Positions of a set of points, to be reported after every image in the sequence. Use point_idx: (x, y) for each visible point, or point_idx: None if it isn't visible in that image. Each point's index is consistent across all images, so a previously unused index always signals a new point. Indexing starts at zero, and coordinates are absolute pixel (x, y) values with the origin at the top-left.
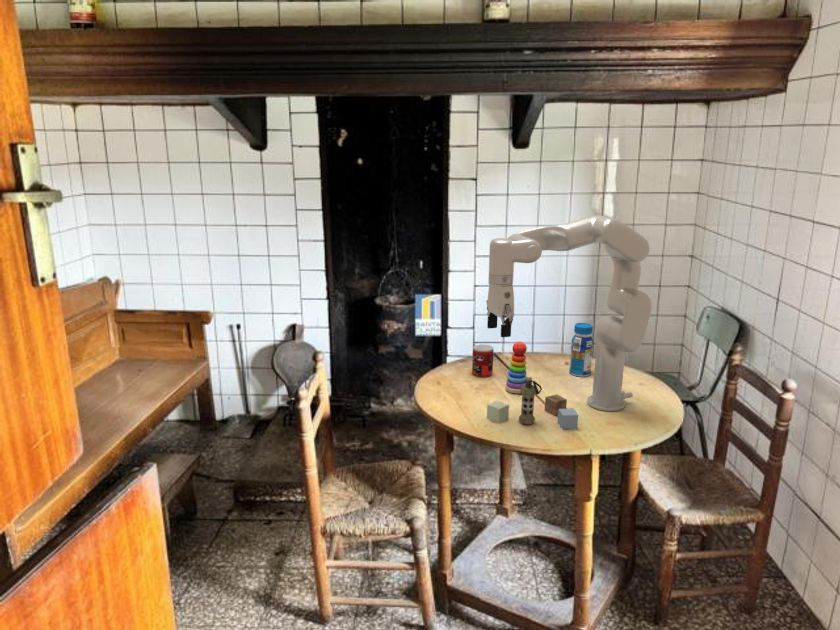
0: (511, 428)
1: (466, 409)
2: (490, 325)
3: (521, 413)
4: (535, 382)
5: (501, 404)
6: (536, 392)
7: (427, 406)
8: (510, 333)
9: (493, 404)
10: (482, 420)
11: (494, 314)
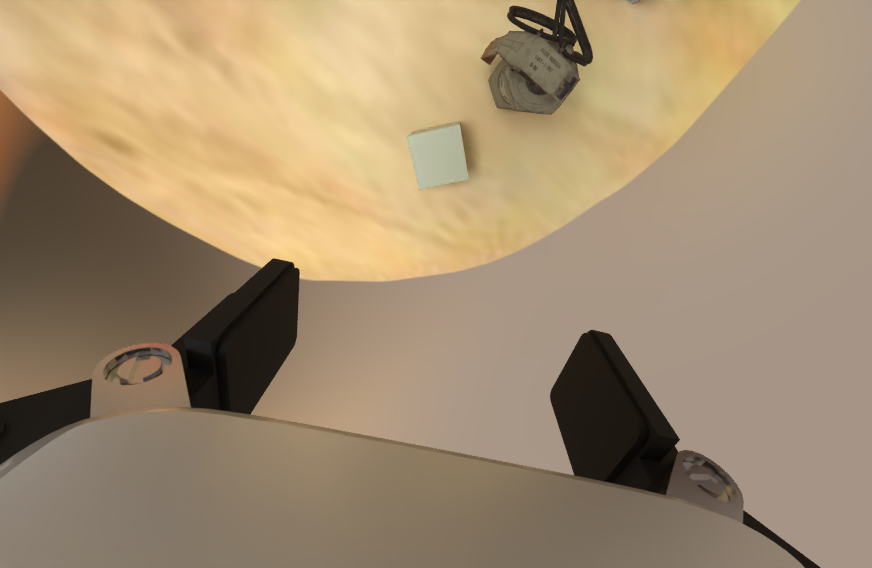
0: (515, 160)
1: (344, 193)
2: (285, 346)
3: (508, 104)
4: (562, 31)
5: (443, 147)
6: (585, 65)
7: None
8: (618, 352)
9: (429, 171)
10: (428, 199)
11: (196, 404)
